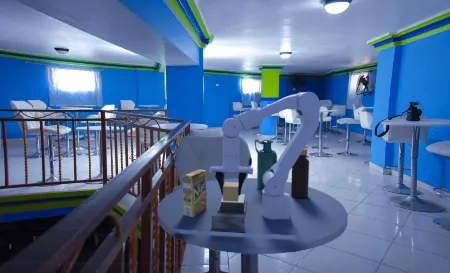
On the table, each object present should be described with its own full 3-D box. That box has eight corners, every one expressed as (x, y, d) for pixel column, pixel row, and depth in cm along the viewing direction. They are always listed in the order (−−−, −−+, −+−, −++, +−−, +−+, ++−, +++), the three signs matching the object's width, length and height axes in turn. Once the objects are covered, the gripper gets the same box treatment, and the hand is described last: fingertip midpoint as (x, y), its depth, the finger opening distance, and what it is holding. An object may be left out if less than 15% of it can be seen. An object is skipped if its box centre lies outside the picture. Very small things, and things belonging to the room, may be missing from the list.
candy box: (193, 220, 96) (192, 176, 94) (182, 217, 99) (181, 174, 96) (207, 211, 104) (206, 170, 102) (197, 209, 106) (197, 168, 104)
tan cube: (239, 196, 100) (239, 182, 99) (237, 201, 95) (237, 186, 94) (225, 195, 101) (225, 181, 100) (222, 200, 96) (222, 186, 95)
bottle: (309, 199, 116) (311, 150, 113) (292, 199, 116) (294, 150, 113) (305, 193, 123) (307, 147, 120) (289, 193, 123) (290, 147, 120)
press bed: (248, 203, 111) (249, 191, 110) (245, 233, 87) (245, 217, 87) (220, 202, 112) (220, 190, 112) (210, 231, 89) (209, 215, 88)
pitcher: (275, 185, 134) (276, 138, 130) (276, 191, 125) (277, 141, 122) (254, 185, 134) (254, 138, 131) (254, 190, 126) (254, 141, 123)
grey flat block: (244, 201, 110) (244, 194, 110) (243, 211, 101) (243, 203, 101) (224, 201, 111) (224, 193, 111) (221, 210, 102) (220, 202, 102)
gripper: (253, 152, 98) (253, 191, 100) (211, 151, 100) (212, 189, 102) (252, 157, 91) (252, 198, 93) (207, 155, 93) (208, 196, 95)
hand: (231, 194), depth 97 cm, fingers closed on tan cube, 5 cm apart
